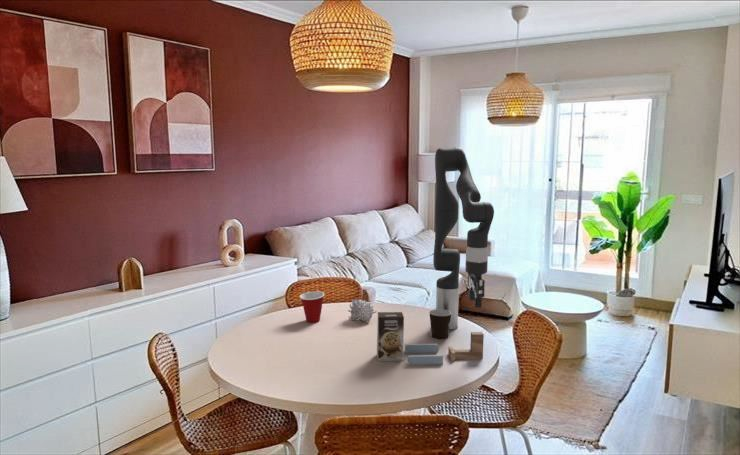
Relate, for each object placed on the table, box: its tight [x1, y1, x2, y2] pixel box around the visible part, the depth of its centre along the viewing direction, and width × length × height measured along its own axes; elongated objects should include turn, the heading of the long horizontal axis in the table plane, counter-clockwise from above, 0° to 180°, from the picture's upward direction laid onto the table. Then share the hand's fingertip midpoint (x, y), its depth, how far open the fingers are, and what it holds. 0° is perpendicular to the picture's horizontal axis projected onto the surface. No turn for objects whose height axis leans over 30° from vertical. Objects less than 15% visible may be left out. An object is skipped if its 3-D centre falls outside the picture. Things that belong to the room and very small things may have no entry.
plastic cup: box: [299, 290, 325, 324], centre depth 224 cm, size 11×11×12 cm
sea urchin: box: [347, 298, 378, 323], centre depth 224 cm, size 12×11×12 cm
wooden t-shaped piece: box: [447, 331, 485, 362], centre depth 185 cm, size 6×12×9 cm, turn 92°
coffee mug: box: [428, 308, 451, 341], centre depth 206 cm, size 12×9×10 cm
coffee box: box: [376, 311, 405, 362], centre depth 184 cm, size 9×6×16 cm
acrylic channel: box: [404, 343, 444, 366], centre depth 184 cm, size 12×12×3 cm
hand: (475, 303), depth 182 cm, fingers open, 8 cm apart
